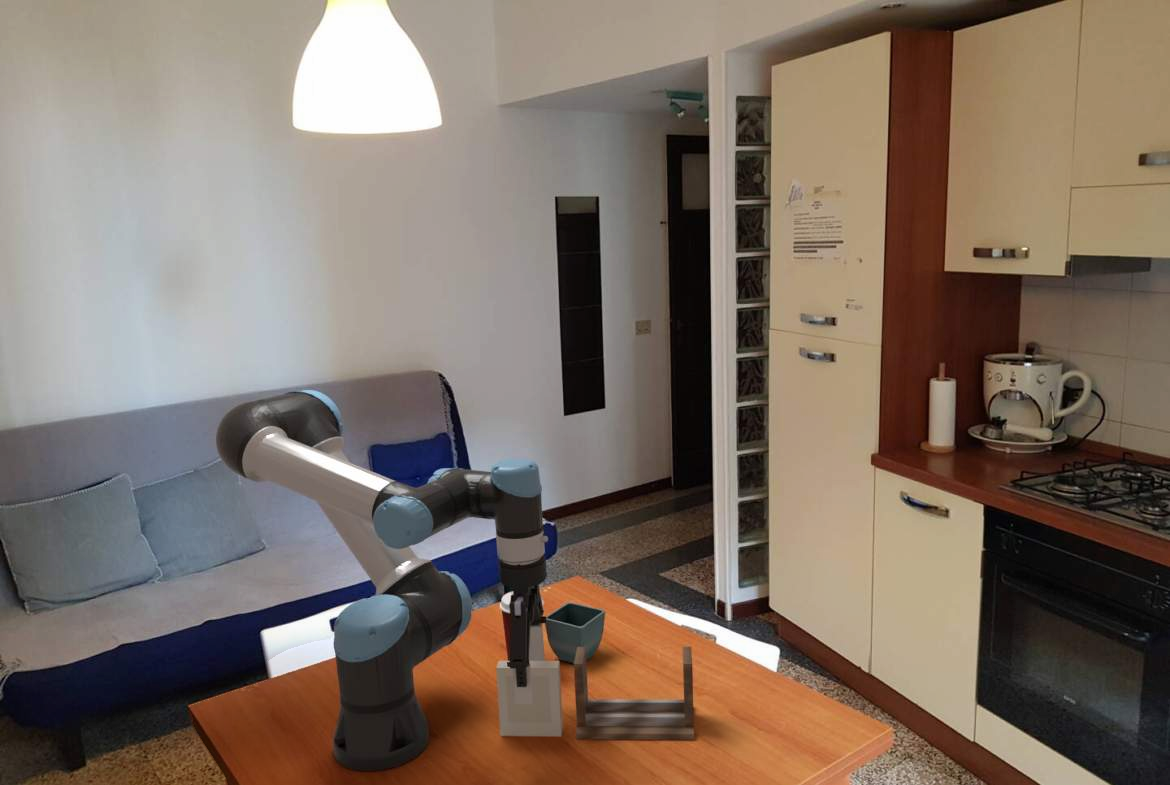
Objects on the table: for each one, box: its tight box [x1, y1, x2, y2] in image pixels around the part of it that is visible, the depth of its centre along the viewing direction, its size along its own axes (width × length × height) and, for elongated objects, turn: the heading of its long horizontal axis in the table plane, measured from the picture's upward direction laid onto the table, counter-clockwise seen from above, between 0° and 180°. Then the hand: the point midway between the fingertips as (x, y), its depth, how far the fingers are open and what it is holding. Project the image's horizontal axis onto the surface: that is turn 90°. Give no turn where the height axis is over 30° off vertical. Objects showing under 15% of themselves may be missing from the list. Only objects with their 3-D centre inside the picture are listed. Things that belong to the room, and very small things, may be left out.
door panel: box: [495, 660, 564, 737], centre depth 146 cm, size 10×2×12 cm, turn 85°
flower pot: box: [544, 601, 606, 664], centre depth 171 cm, size 9×9×9 cm
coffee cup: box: [499, 591, 545, 661], centre depth 165 cm, size 8×8×15 cm
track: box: [573, 646, 695, 741], centre depth 147 cm, size 19×10×12 cm, turn 85°
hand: (530, 681), depth 145 cm, fingers open, 13 cm apart
